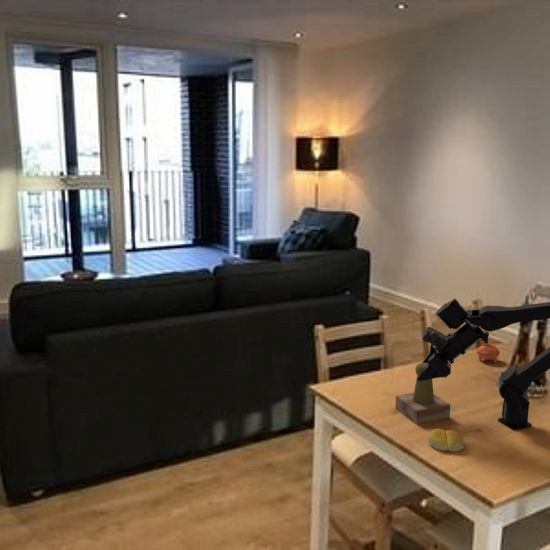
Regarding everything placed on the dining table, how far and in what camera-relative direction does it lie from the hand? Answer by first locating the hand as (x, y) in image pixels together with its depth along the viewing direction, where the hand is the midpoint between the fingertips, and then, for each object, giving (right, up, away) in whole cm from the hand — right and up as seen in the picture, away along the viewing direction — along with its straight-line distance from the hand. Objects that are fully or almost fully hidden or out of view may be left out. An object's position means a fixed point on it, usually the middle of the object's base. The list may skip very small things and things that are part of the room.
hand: (418, 374), depth 170 cm
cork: (+2, -8, +1) cm, 8 cm away
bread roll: (+3, -16, -16) cm, 23 cm away
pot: (+36, -3, +44) cm, 57 cm away
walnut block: (+1, -12, +2) cm, 12 cm away
